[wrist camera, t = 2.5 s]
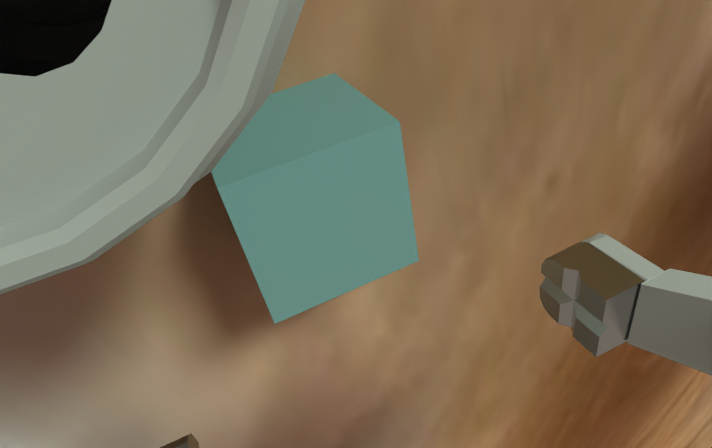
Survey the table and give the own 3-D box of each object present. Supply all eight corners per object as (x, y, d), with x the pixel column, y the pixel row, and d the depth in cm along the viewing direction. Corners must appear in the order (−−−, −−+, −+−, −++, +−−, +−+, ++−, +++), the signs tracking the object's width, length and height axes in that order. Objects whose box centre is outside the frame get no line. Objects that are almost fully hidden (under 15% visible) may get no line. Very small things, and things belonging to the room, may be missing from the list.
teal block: (333, 72, 17) (399, 121, 13) (358, 191, 20) (418, 260, 16) (191, 119, 16) (217, 188, 12) (241, 238, 19) (274, 323, 15)
